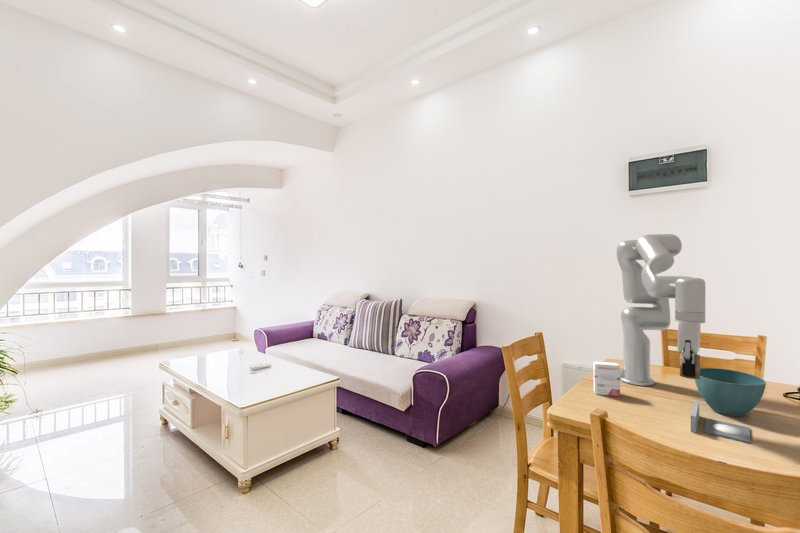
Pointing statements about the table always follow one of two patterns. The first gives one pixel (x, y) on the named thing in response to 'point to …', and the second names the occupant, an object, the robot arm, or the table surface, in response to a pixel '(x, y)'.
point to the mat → (727, 430)
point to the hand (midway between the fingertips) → (689, 373)
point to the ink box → (606, 378)
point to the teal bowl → (730, 390)
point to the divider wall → (695, 416)
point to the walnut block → (697, 366)
